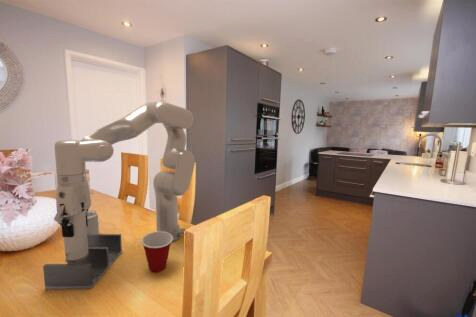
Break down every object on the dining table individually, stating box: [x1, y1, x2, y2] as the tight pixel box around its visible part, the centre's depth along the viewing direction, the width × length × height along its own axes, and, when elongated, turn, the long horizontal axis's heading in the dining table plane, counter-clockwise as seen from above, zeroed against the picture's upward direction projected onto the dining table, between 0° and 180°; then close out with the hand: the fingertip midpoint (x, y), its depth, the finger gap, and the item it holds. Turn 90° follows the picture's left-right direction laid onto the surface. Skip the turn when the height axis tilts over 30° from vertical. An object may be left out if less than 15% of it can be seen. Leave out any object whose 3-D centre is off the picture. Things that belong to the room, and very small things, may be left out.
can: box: [86, 209, 100, 234], centre depth 103 cm, size 8×8×12 cm
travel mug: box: [63, 202, 89, 263], centre depth 74 cm, size 6×7×20 cm
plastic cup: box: [141, 231, 173, 274], centre depth 81 cm, size 11×11×12 cm
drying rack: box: [42, 233, 123, 290], centre depth 80 cm, size 14×21×8 cm, turn 3°
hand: (75, 231), depth 74 cm, fingers closed on travel mug, 6 cm apart
